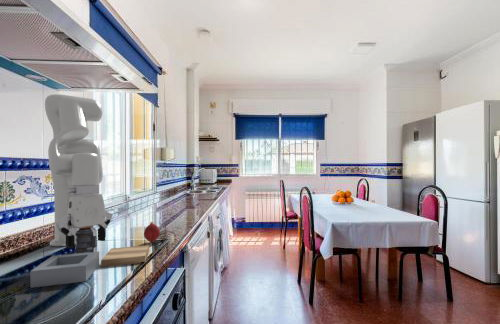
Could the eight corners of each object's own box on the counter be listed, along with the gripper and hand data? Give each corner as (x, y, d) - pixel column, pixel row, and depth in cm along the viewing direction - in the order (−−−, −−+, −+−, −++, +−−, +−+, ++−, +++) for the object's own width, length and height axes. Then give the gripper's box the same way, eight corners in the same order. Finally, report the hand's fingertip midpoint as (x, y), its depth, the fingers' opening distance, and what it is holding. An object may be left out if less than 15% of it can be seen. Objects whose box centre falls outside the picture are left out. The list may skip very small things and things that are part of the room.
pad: (111, 254, 90) (110, 248, 90) (149, 250, 93) (149, 245, 93) (101, 267, 78) (101, 260, 78) (145, 262, 81) (145, 255, 81)
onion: (162, 242, 103) (162, 221, 103) (147, 245, 100) (147, 224, 100) (156, 239, 108) (156, 219, 108) (141, 242, 104) (141, 221, 104)
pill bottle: (101, 255, 89) (101, 221, 89) (86, 261, 83) (86, 224, 84) (86, 254, 91) (86, 220, 91) (70, 260, 85) (70, 224, 85)
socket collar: (52, 270, 77) (52, 255, 77) (99, 265, 80) (99, 251, 80) (30, 287, 65) (30, 271, 65) (86, 281, 68) (85, 265, 68)
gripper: (62, 193, 78) (63, 252, 77) (117, 189, 93) (118, 238, 92) (49, 193, 82) (50, 250, 81) (104, 189, 97) (105, 237, 96)
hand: (86, 244), depth 87 cm, fingers open, 9 cm apart
